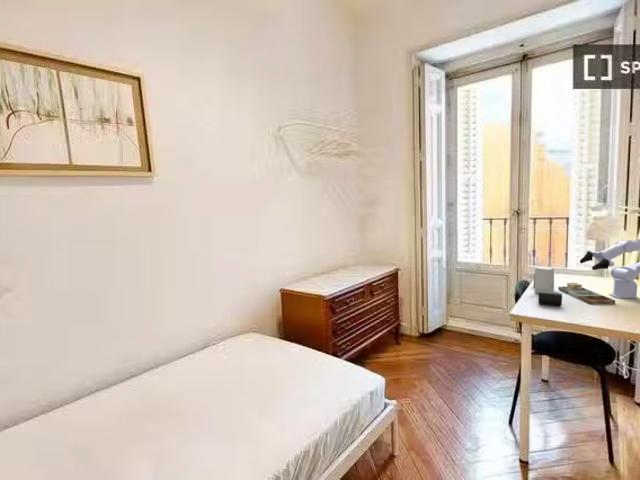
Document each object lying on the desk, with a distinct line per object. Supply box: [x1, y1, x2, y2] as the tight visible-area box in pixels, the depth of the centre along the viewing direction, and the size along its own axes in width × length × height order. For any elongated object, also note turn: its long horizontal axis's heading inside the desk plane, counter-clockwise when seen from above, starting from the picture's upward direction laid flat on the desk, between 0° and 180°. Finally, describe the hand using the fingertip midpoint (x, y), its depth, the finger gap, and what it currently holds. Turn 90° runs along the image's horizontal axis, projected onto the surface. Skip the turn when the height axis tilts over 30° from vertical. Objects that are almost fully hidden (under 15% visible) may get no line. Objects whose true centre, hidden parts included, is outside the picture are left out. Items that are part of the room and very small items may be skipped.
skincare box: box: [534, 266, 555, 294], centre depth 209 cm, size 8×6×15 cm
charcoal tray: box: [558, 286, 591, 295], centre depth 211 cm, size 12×9×2 cm
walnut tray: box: [578, 295, 616, 305], centre depth 191 cm, size 12×9×2 cm
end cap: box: [538, 291, 563, 307], centre depth 188 cm, size 10×7×7 cm
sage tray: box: [567, 290, 603, 300], centre depth 201 cm, size 12×9×2 cm
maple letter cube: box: [566, 282, 583, 290], centre depth 211 cm, size 5×5×5 cm
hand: (586, 265), depth 196 cm, fingers open, 7 cm apart
